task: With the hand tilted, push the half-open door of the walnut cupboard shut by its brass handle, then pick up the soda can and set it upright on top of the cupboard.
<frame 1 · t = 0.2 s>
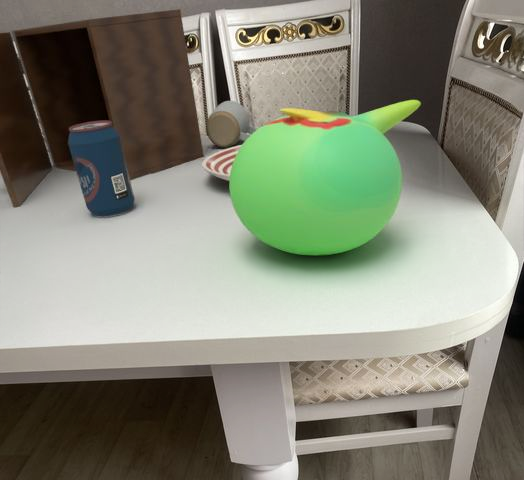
soda can: (113, 212, 77), on the table
dinner plate: (288, 173, 85), on the table
cupboard: (126, 162, 104), on the table
ceramic mug: (236, 144, 108), on the table
toy bird: (319, 247, 58), on the table
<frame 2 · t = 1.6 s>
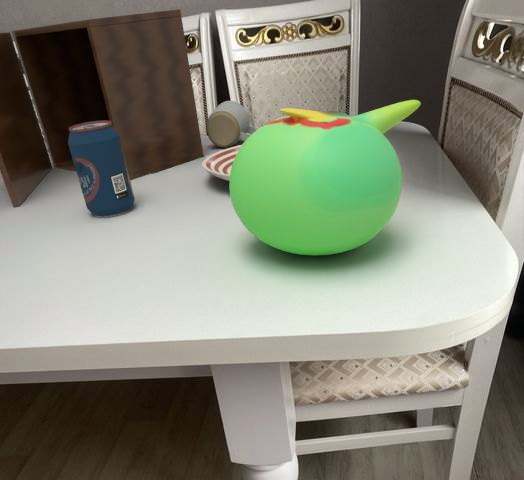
nothing on the table moved.
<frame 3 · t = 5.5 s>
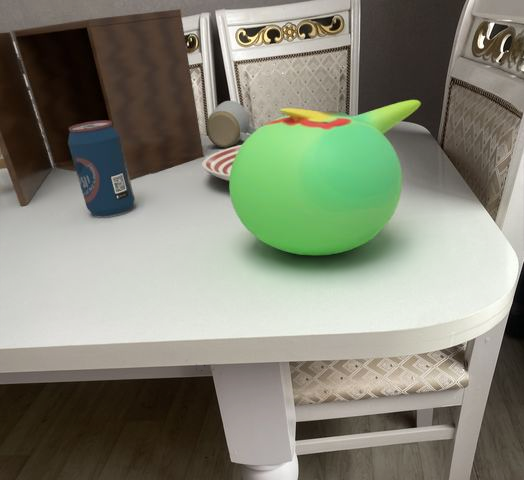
everything else where it was.
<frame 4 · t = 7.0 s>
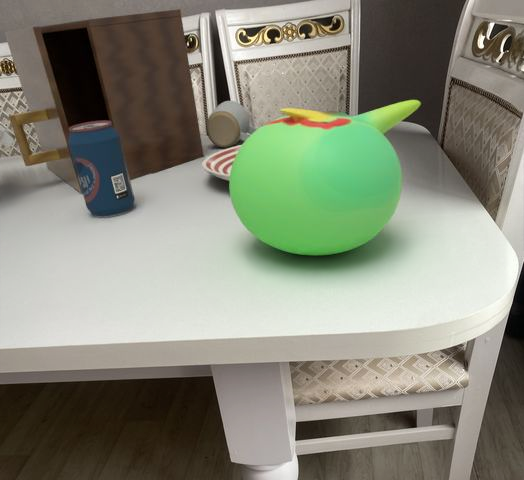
hand: (13, 142, 87), 8 cm above the table, tool tilted 45°, fingers closed
cupboard door: (27, 113, 89), point 12 cm above the table, hinge at 16.0°, touching gripper
everything else where it was.
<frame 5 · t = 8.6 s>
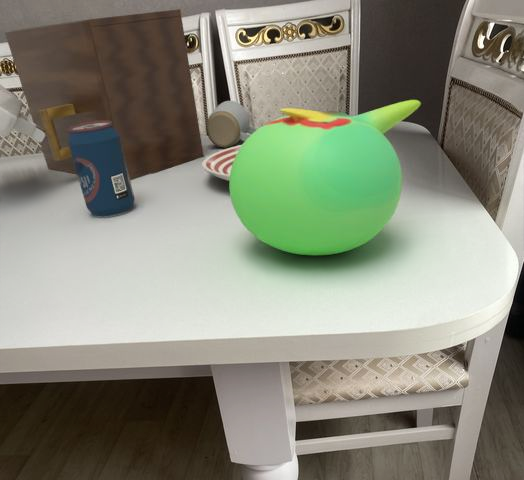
hand: (43, 137, 88), 8 cm above the table, tool tilted 45°, fingers closed
cupboard door: (50, 109, 90), point 12 cm above the table, hinge at -0.6°, touching cupboard, gripper
everything else where it was.
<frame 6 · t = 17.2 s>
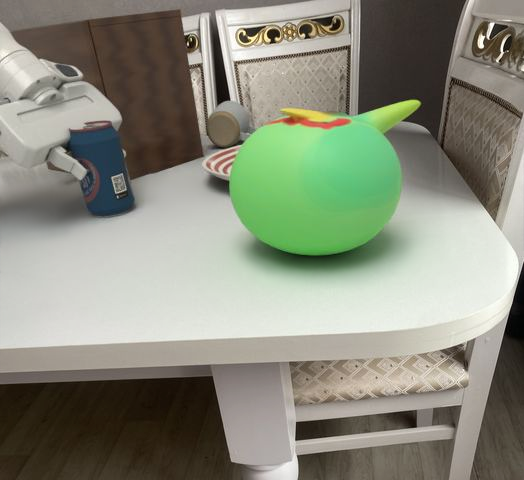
hand: (105, 166, 74), 6 cm above the table, tool tilted 45°, fingers closed on soda can, 7 cm apart
soda can: (113, 212, 77), on the table, touching gripper
cupboard door: (49, 109, 90), point 12 cm above the table, hinge at -0.2°
everything else where it was.
when the fingers open (30 cm above the table, at t = 27.9 s): soda can stays where it is, resting on cupboard.
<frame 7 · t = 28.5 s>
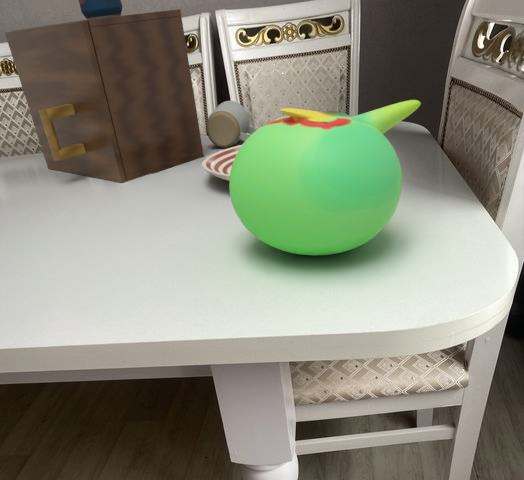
soda can: (104, 20, 90), point 24 cm above the table, touching cupboard
everything else where it was.
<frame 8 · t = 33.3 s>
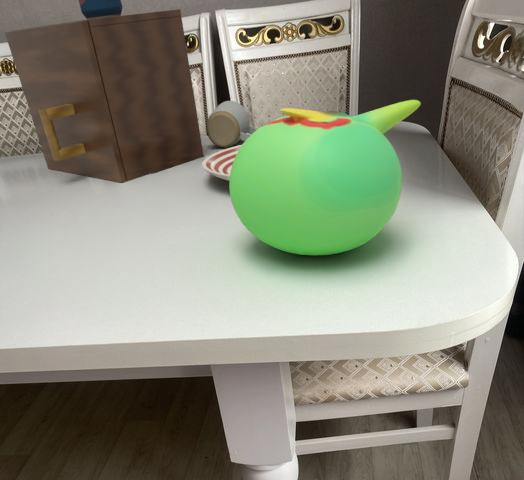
nothing on the table moved.
at the end: cupboard door at +0° (first picture: +40°); soda can inside the target area on the cupboard (1.0 cm from its centre), point 23.8 cm above the cupboard's base; soda can tilted 0° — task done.
